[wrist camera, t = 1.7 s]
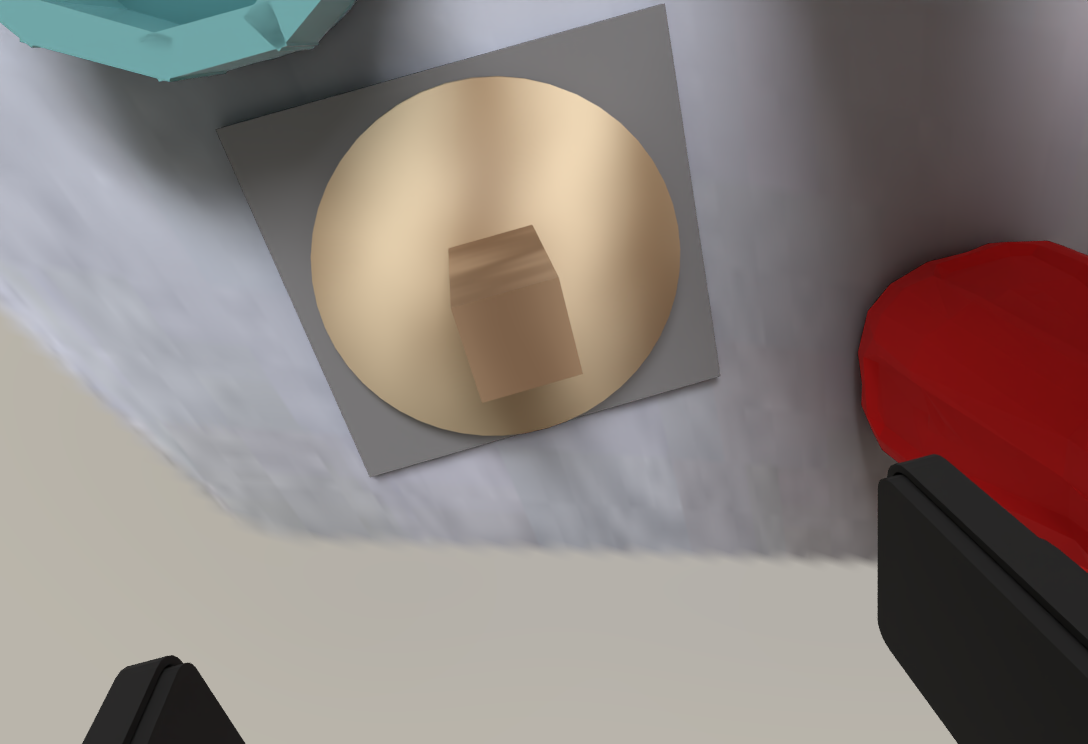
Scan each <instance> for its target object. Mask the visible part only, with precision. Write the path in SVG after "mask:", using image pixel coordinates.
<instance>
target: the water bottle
mask: <svg viewBox="0 0 1088 744" xmlns="http://www.w3.org/2000/svg"><path fill="white" fill-rule="evenodd" d="M858 357H859V365H860V372H861V379H862V401H861V405H862V408H863V410H864V412H865V415H866V417H867V419H868V422H869V424H870V426H871V429H872V431H873V433H874V435H875V437H876V439H877V441H878V443H879V445H880V447H881V448H882V450H883V451H884V452H886V453H887V454H888V455H889V456H891V457H892V458H893V459H894V460H896V461H897V462H898V463H901V462H905V461H909V460H912V459H916V458H920V457H924V456H928V455H931V454H936V455H940V456H942V457H943V458H945V459H946V460H947V461H949V462H950V463H951V464H952V465H953V466H955V467H956V468H957V469H958V470H959V471H960V472H962V473H963V474H964V475H965V476H966V477H968V478H969V479H970V480H971V481H972V482H974V483H975V484H976V485H977V486H978V487H979V488H981V489H982V490H983V491H984V492H985V493H987V494H988V495H989V496H990V497H991V498H993V499H994V500H995V501H996V502H997V503H998V504H1000V505H1001V506H1002V507H1003V508H1004V509H1006V510H1007V511H1008V512H1009V513H1010V514H1012V515H1013V516H1014V517H1015V518H1016V519H1017V520H1019V521H1020V522H1021V523H1022V524H1023V525H1025V526H1026V527H1027V528H1028V529H1029V530H1031V531H1032V532H1033V533H1034V534H1035V535H1036V536H1038V537H1039V538H1041V539H1045V540H1046V541H1048V542H1049V543H1051V544H1052V545H1054V546H1055V547H1057V548H1058V549H1060V550H1061V551H1062V552H1063V553H1064V554H1066V555H1067V556H1068V557H1069V558H1070V559H1072V560H1073V561H1074V562H1075V563H1076V564H1078V565H1079V566H1080V567H1081V568H1082V569H1084V570H1085V571H1086V572H1087V573H1088V255H1085V254H1083V253H1080V252H1077V251H1075V250H1072V249H1070V248H1067V247H1065V246H1062V245H1059V244H1056V243H1053V242H1050V241H1022V242H1000V243H988V244H986V245H983V246H981V247H978V248H976V249H973V250H971V251H968V252H966V253H962V254H958V255H954V256H950V257H946V258H942V259H938V260H934V261H929V262H926V263H925V264H923V265H921V266H920V267H918V268H916V269H915V270H913V271H911V272H910V273H908V274H906V275H905V276H903V277H901V278H900V279H898V280H896V281H895V282H893V283H891V284H890V285H889V286H888V287H887V289H886V290H885V291H884V292H883V293H882V295H881V296H880V297H879V298H878V299H877V301H876V302H875V303H874V304H873V305H872V307H871V308H870V309H869V310H868V312H867V317H866V321H865V325H864V329H863V333H862V337H861V342H860V346H859V350H858Z"/></svg>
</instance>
